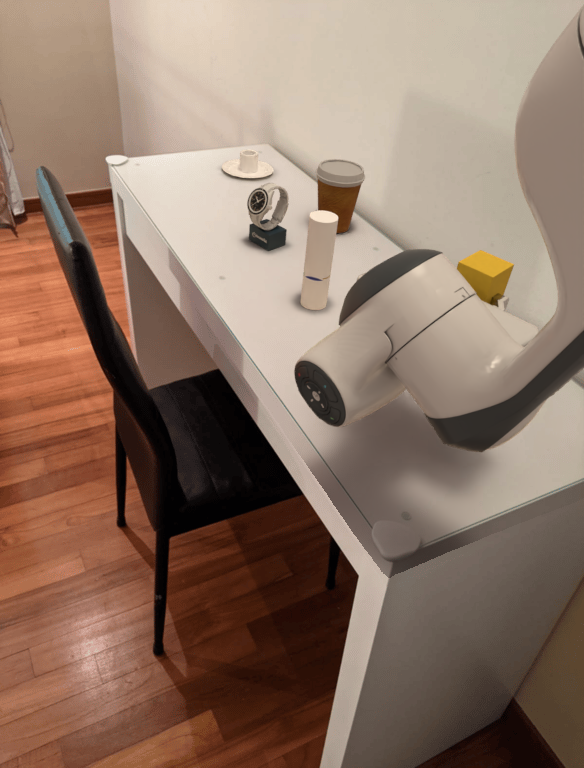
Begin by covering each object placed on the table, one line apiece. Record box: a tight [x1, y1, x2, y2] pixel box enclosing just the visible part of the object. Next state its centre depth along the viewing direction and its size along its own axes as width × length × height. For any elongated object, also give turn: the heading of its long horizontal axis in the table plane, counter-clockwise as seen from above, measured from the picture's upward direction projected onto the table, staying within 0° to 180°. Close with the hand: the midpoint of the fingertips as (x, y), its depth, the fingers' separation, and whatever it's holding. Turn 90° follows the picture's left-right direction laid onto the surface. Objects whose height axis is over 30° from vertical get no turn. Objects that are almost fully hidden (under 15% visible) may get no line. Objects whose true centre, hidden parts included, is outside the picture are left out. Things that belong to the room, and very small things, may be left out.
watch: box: [246, 182, 290, 252], centre depth 112 cm, size 6×8×11 cm
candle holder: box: [221, 149, 274, 179], centre depth 141 cm, size 12×12×4 cm
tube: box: [300, 210, 338, 311], centre depth 95 cm, size 4×4×15 cm
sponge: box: [456, 249, 515, 304], centre depth 73 cm, size 5×4×9 cm
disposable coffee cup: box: [315, 158, 366, 234], centre depth 119 cm, size 10×10×12 cm
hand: (480, 290), depth 73 cm, fingers closed on sponge, 4 cm apart
